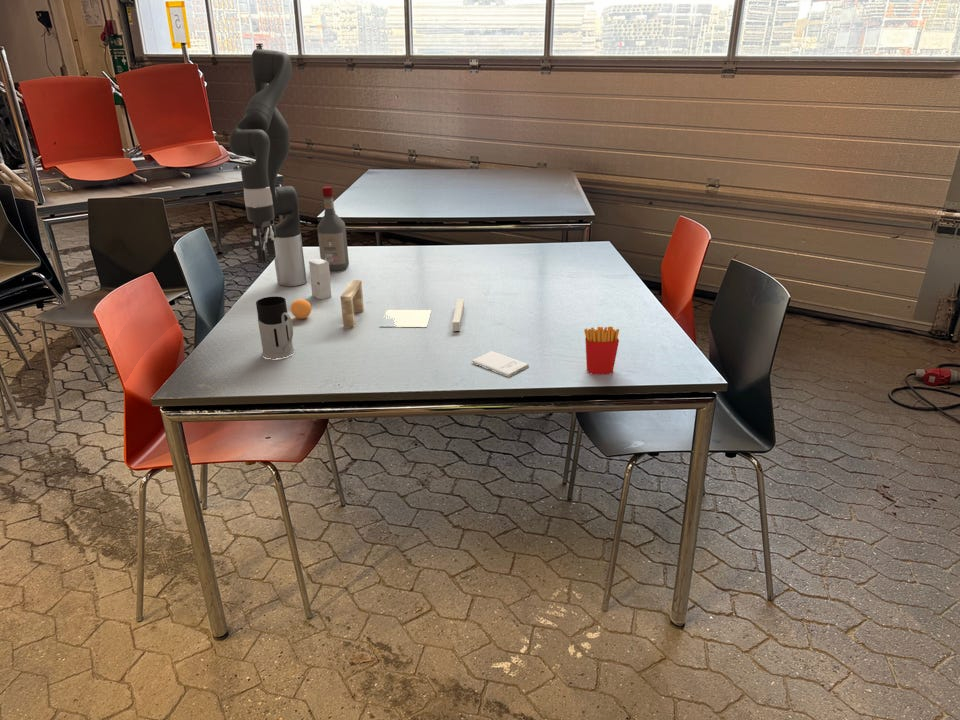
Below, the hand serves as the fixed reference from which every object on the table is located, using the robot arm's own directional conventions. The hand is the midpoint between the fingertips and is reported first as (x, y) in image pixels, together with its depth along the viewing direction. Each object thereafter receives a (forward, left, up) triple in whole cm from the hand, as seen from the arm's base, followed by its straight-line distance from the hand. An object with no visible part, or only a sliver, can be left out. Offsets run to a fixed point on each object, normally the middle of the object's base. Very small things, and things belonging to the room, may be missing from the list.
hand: (267, 258), depth 196 cm
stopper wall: (+56, 0, -19) cm, 59 cm away
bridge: (+24, 0, -19) cm, 31 cm away
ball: (+8, 0, -16) cm, 18 cm away
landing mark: (+40, 0, -19) cm, 44 cm away
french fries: (+94, -35, -19) cm, 103 cm away
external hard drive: (+69, -32, -20) cm, 79 cm away
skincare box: (+9, +20, -19) cm, 29 cm away
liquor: (+6, +51, -19) cm, 54 cm away
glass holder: (+11, -28, -19) cm, 36 cm away
